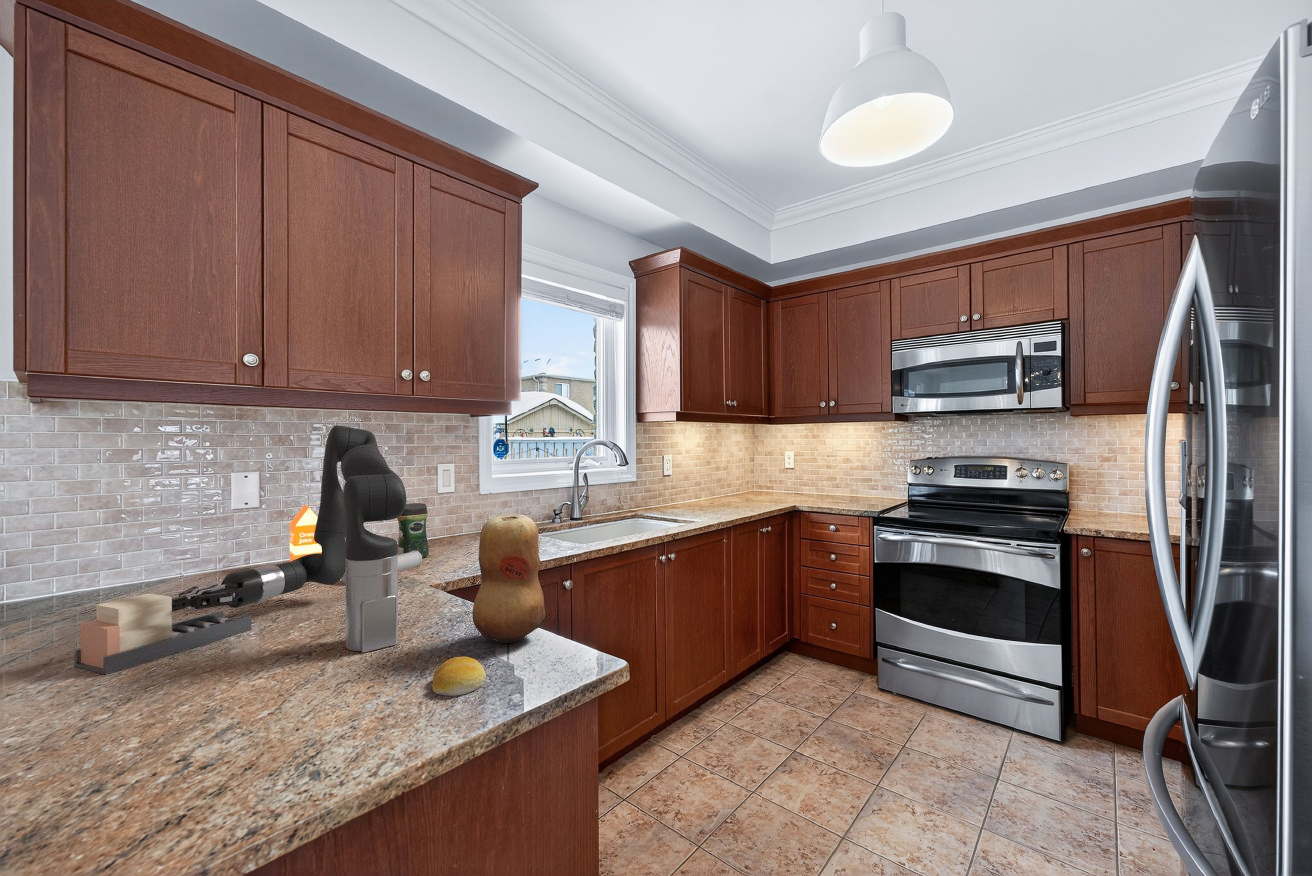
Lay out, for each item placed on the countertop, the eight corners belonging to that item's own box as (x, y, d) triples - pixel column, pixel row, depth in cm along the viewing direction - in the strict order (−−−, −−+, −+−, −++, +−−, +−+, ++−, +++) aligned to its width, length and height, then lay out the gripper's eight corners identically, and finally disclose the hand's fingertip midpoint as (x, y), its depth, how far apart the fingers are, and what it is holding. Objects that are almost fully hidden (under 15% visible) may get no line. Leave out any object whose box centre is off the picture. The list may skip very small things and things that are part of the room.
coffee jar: (422, 554, 194) (422, 501, 194) (431, 557, 188) (431, 503, 188) (393, 558, 188) (393, 503, 188) (401, 562, 182) (401, 505, 182)
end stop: (93, 659, 101) (92, 620, 101) (119, 665, 98) (119, 626, 98) (80, 662, 99) (80, 623, 99) (107, 669, 96) (107, 629, 96)
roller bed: (221, 624, 121) (221, 610, 121) (251, 629, 118) (251, 615, 118) (74, 666, 99) (74, 649, 99) (106, 675, 95) (105, 657, 95)
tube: (351, 573, 152) (424, 554, 175) (339, 565, 154) (412, 547, 177) (347, 590, 153) (420, 569, 175) (335, 582, 155) (408, 563, 178)
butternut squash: (476, 658, 101) (475, 522, 101) (469, 635, 114) (469, 513, 114) (551, 647, 107) (550, 517, 107) (537, 625, 119) (536, 509, 119)
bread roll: (432, 702, 85) (431, 676, 85) (433, 678, 94) (433, 655, 94) (487, 693, 88) (487, 668, 88) (484, 671, 97) (484, 648, 97)
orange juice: (294, 575, 165) (293, 508, 165) (289, 570, 172) (289, 505, 172) (324, 571, 170) (324, 506, 170) (318, 566, 177) (318, 503, 177)
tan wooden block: (150, 634, 108) (149, 593, 108) (171, 638, 106) (171, 596, 106) (96, 648, 101) (96, 604, 101) (118, 654, 98) (118, 609, 98)
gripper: (234, 566, 125) (140, 585, 109) (274, 570, 121) (181, 591, 104) (235, 599, 125) (140, 623, 109) (274, 605, 121) (181, 631, 104)
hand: (160, 607), depth 107 cm, fingers closed
